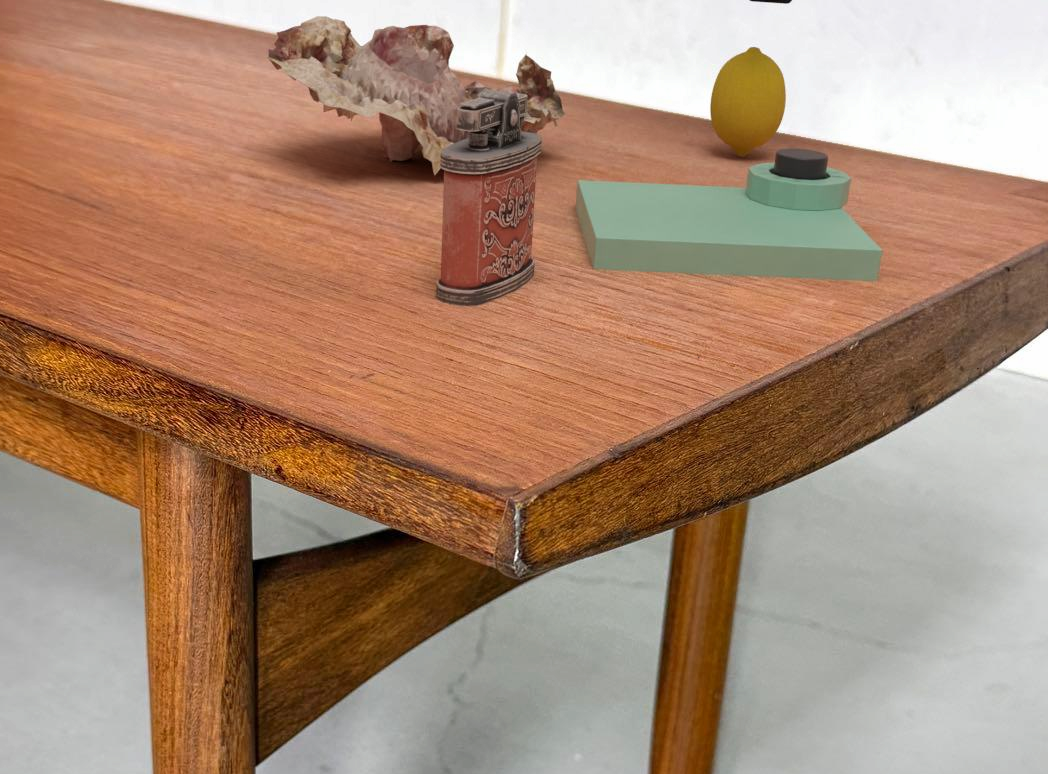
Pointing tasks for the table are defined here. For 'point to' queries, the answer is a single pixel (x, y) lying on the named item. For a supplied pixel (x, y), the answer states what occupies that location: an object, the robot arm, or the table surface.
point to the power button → (800, 164)
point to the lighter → (488, 202)
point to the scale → (728, 228)
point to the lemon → (748, 101)
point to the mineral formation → (400, 82)
